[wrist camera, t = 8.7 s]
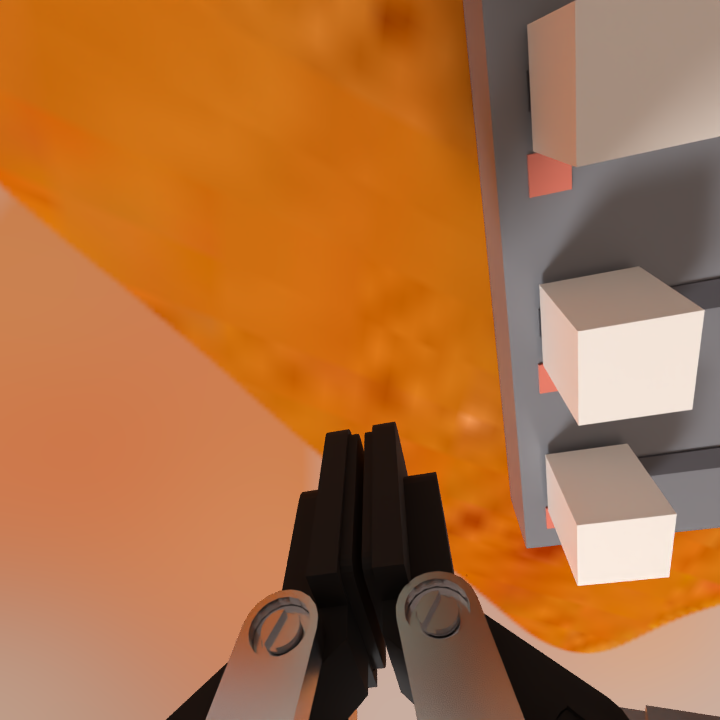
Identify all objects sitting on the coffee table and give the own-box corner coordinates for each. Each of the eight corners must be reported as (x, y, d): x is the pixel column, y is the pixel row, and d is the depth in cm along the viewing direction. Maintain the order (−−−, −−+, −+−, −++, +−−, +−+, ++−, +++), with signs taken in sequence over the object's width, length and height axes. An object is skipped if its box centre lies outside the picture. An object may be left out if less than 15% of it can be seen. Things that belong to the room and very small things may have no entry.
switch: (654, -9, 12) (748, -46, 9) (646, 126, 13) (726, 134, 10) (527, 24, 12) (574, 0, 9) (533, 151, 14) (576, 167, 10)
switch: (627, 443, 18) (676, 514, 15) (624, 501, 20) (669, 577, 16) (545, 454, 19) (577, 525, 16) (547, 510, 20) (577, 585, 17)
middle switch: (639, 266, 15) (704, 310, 12) (634, 350, 16) (692, 409, 13) (539, 284, 15) (577, 331, 12) (542, 365, 17) (578, 425, 14)
